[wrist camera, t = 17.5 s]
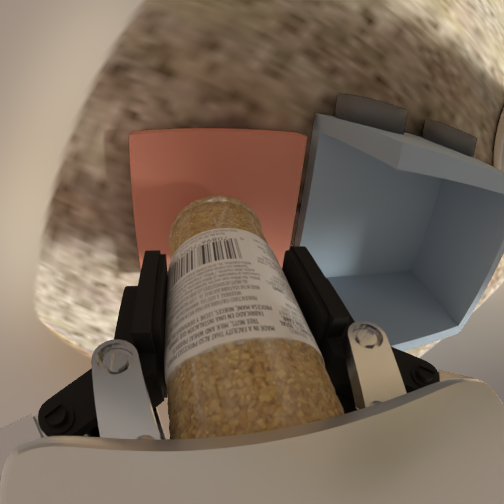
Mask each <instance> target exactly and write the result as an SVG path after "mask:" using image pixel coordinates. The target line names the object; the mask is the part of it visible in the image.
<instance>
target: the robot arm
mask: <svg viewBox="0 0 504 504" xmlns="http://www.w3.org/2000/svg"><path fill="white" fill-rule="evenodd" d="M494 167H495V168H497V169H499V170H501V171H503V172H504V109H503V111H502V113H501V116H500V120H499V123H498V128H497V132H496V138H495V146H494ZM282 271H283V273H284V275H285V277H286V279H287V281H288V283H289V285H290V288H291V290H292V292H293V294H294V296H295V298H296V301H297V303H298V305H299V307H300V309H301V311H302V314H303V316H304V318H305V320H306V322H307V324H308V326H309V329H310V331H311V333H312V335H313V337H314V339H315V341H316V343H317V345H318V348H319V350H320V352H321V354H322V357H323V359H324V363H325V369H326V371H327V373H328V375H329V377H330V380H331V383H332V385H333V386H334V388H335V392H336V395H337V397H338V399H339V401H340V403H341V405H342V407H343V409H344V414H343V415H339V416H335V417H332V418H328V419H324V420H320V421H315V422H311V423H307V424H302V425H297V426H292V427H287V428H282V429H276V430H270V431H264V432H257V433H250V434H242V435H233V436H224V437H212V438H197V439H169V440H168V439H166V436H165V433H164V429H163V426H162V423H161V419H160V416H159V413H158V409H157V406H158V405H159V404H161V403H162V401H164V398H167V387H166V381H165V369H164V361H165V315H166V298H167V279H168V271H167V260H166V254H161V252H160V250H150V251H145V253H144V258H143V263H142V268H141V273H140V278H139V283H138V286H126V287H125V289H124V293H123V297H122V302H121V306H120V311H119V316H118V321H117V326H116V331H115V337H114V340H110V341H106V342H104V343H102V344H101V345H99V346H98V347H97V348H96V349H95V351H94V353H93V355H92V360H91V364H92V369H90V370H89V371H87V372H86V373H85V374H83V375H82V376H80V377H79V378H78V379H77V380H75V381H73V382H72V383H71V384H69V385H68V386H66V387H65V388H64V389H63V390H61V391H59V392H58V393H57V394H55V395H54V396H53V397H51V398H50V399H48V400H47V401H46V402H45V403H44V404H43V405H42V406H41V408H40V410H39V414H38V415H36V416H33V415H32V414H30V415H28V416H26V417H24V418H21V419H20V420H17V421H15V422H13V423H11V424H9V425H7V426H4V427H2V428H0V504H504V404H503V403H502V401H501V400H500V398H499V397H498V396H497V394H496V393H495V392H494V391H493V390H492V389H491V387H489V385H488V384H486V383H485V382H483V381H481V380H477V379H475V378H472V377H468V376H464V375H459V374H455V373H451V372H447V371H443V370H439V371H438V372H437V370H436V369H435V367H434V366H433V365H431V364H430V363H428V362H427V361H424V360H422V359H420V358H417V357H415V356H413V355H410V354H408V353H406V352H403V351H401V350H399V349H396V348H394V347H392V346H390V343H389V341H388V338H387V336H386V334H385V332H384V331H383V330H382V329H381V328H380V327H379V326H378V325H376V324H374V323H372V322H369V321H357V322H355V321H354V319H353V318H352V316H351V315H350V313H349V311H348V310H347V308H346V306H345V305H344V303H343V302H342V300H341V298H340V297H339V295H338V294H337V292H336V290H335V289H334V287H333V286H332V284H331V283H330V281H329V280H328V279H327V278H326V277H325V276H324V274H323V272H322V271H321V269H320V268H319V266H318V265H317V263H316V262H315V260H314V258H313V257H312V255H311V254H310V252H309V251H308V249H307V248H306V247H305V246H295V247H290V249H289V250H286V251H285V254H284V260H283V266H282Z"/></svg>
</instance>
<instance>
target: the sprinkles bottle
mask: <svg viewBox="0 0 504 504" xmlns="http://www.w3.org/2000/svg"><path fill="white" fill-rule="evenodd" d="M169 244H170V249H171V259H170V263H169V267H168V279H167V298H166V315H165V361H164V369H165V381H166V387H167V394H168V414H169V420H170V423H169V431H170V439H197V438H212V437H224V436H233V435H242V434H250V433H257V432H264V431H270V430H276V429H282V428H287V427H292V426H297V425H302V424H307V423H311V422H315V421H320V420H324V419H328V418H332V417H335V416H339V415H343V414H344V409H343V407H342V405H341V403H340V401H339V399H338V397H337V395H336V392H335V388H334V386H333V385H332V383H331V380H330V377H329V375H328V373H327V371H326V369H325V363H324V359H323V357H322V354H321V352H320V350H319V348H318V345H317V343H316V341H315V339H314V337H313V335H312V333H311V331H310V329H309V326H308V324H307V322H306V320H305V318H304V316H303V314H302V311H301V309H300V307H299V305H298V303H297V301H296V298H295V296H294V294H293V292H292V290H291V288H290V285H289V283H288V281H287V279H286V277H285V275H284V273H283V271H282V269H281V267H280V264H279V262H278V260H277V258H276V256H275V254H274V252H273V250H272V249H271V248H270V246H269V245H268V243H267V241H266V239H265V236H264V235H263V232H262V226H261V223H260V220H259V218H258V216H257V215H256V213H255V212H254V211H253V209H252V208H251V207H250V206H248V205H247V204H245V203H244V202H242V201H240V200H238V199H236V198H233V197H228V196H224V195H214V196H207V197H203V198H201V199H199V200H195V201H193V202H192V203H190V204H189V205H188V206H186V207H185V208H183V209H182V210H181V211H180V212H179V214H178V216H177V217H176V219H175V221H174V222H173V224H172V227H171V231H170V236H169Z"/></svg>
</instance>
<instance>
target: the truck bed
mask: <svg viewBox="0 0 504 504" xmlns="http://www.w3.org/2000/svg"><path fill="white" fill-rule="evenodd" d="M407 114H408V110H406V109H403V108H401V107H398V106H394V105H391V104H388V103H384V102H381V101H377V100H373V99H368V98H364V97H359V96H354V95H349V94H342V93H338V95H337V102H336V109H335V116H332V115H326V114H320V113H315V117H314V124H313V131H312V138H311V145H310V152H309V158H308V165H307V171H306V178H305V184H304V190H303V196H302V202H301V208H300V214H299V220H298V225H297V231H296V236H295V242H294V247H295V246H305V247H306V248H307V249H308V251H309V252H310V254H311V255H312V257H313V258H314V260H315V262H316V263H317V265H318V266H319V268H320V269H321V271H322V272H323V274H324V276H325V277H326V278H327V279H328V280H329V281H330V283H331V284H332V286H333V287H334V289H335V290H336V292H337V294H338V295H339V297H340V298H341V300H342V302H343V303H344V305H345V306H346V308H347V310H348V311H349V313H350V315H351V316H352V318H353V319H354V321H355V322H357V321H369V322H372V323H374V324H376V325H378V326H379V327H380V328H381V329H382V330H383V331H384V332H385V334H386V336H387V338H388V341H389V343H390V346H392V347H394V348H396V349H399V350H401V351H406V350H410V349H413V348H416V347H419V346H423V345H426V344H429V343H432V342H435V341H438V340H441V339H443V338H446V337H449V336H452V335H455V334H457V333H459V332H460V331H461V330H462V328H463V326H464V325H465V323H466V322H467V320H468V319H469V317H470V315H471V314H472V312H473V310H474V309H475V307H476V305H477V304H478V302H479V300H480V298H481V297H482V295H483V293H484V291H485V289H486V287H487V286H488V284H489V282H490V280H491V278H492V276H493V274H494V272H495V270H496V268H497V266H498V264H499V262H500V259H501V257H502V255H503V253H504V172H503V171H501V170H499V169H497V168H495V167H493V166H491V165H489V164H487V163H485V162H483V161H481V160H479V159H477V158H475V157H473V155H474V150H475V146H476V141H477V138H476V137H474V136H472V135H470V134H467V133H465V132H463V131H460V130H458V129H455V128H453V127H450V126H447V125H445V124H442V123H439V122H436V121H433V120H429V119H425V123H424V128H423V133H422V137H420V136H417V135H414V134H410V133H407V132H404V131H405V126H406V120H407Z"/></svg>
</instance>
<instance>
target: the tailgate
mask: <svg viewBox="0 0 504 504" xmlns="http://www.w3.org/2000/svg"><path fill="white" fill-rule="evenodd" d="M306 142H307V136H305V135H302V134H300V133H297V132H285V131H272V130H256V129H231V128H182V129H157V130H141V131H132V132H131V133H130V134H129V152H130V173H131V189H132V201H133V212H134V222H135V231H136V239H137V247H138V254H139V261H140V268H142V263H143V258H144V253H145V251H150V250H160V252H161V254H166V260H167V271H168V267H169V263H170V259H171V249H170V244H169V236H170V231H171V227H172V224H173V222H174V221H175V219H176V217H177V216H178V214H179V212H180V211H181V210H182V209H183V208H185V207H186V206H188V205H189V204H190V203H192V202H193V201H195V200H199V199H201V198H203V197H207V196H214V195H224V196H228V197H233V198H236V199H238V200H240V201H242V202H244V203H245V204H247V205H248V206H250V207H251V208H252V209H253V211H254V212H255V213H256V215H257V216H258V218H259V220H260V223H261V226H262V232H263V235H264V236H265V239H266V241H267V243H268V245H269V246H270V248H271V249H272V250H273V252H274V254H275V256H276V258H277V260H278V262H279V264H280V267H281V269H282V266H283V260H284V254H285V251H286V250H289V248H290V243H291V237H292V231H293V225H294V219H295V213H296V207H297V201H298V195H299V189H300V182H301V176H302V169H303V163H304V156H305V149H306Z"/></svg>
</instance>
